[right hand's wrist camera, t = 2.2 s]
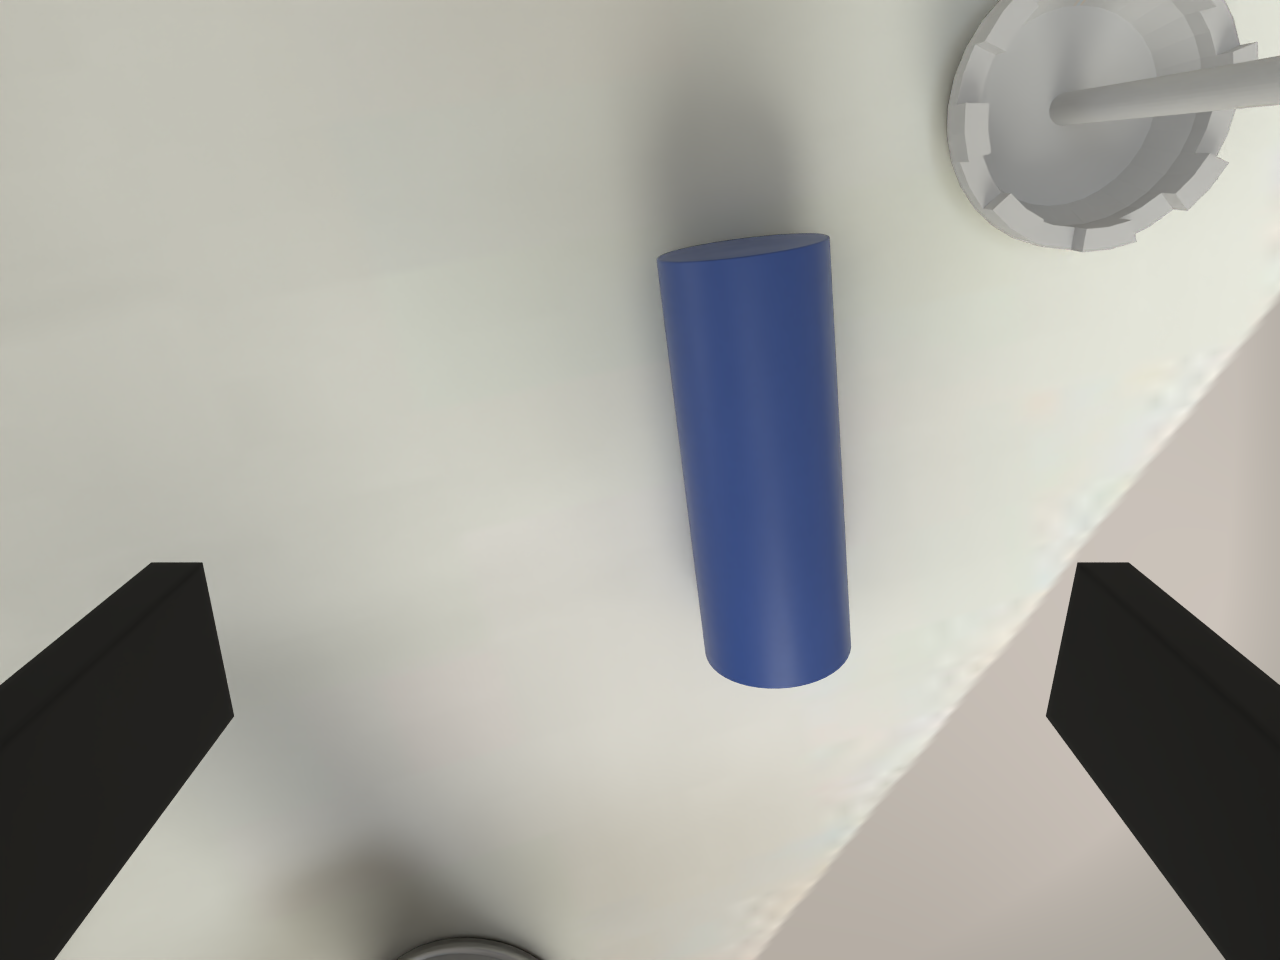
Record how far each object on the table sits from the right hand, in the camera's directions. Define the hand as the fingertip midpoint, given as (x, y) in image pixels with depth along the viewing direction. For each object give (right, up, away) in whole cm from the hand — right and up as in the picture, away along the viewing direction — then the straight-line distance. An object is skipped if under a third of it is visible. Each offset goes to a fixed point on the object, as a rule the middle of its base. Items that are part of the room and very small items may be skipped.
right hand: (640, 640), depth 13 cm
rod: (+7, +5, +36) cm, 37 cm away
